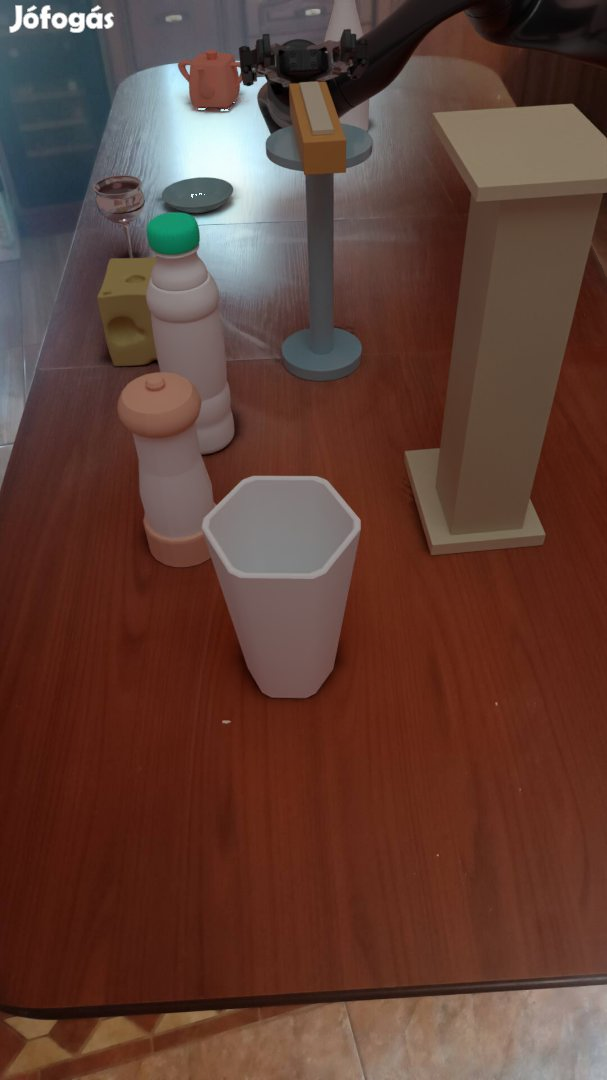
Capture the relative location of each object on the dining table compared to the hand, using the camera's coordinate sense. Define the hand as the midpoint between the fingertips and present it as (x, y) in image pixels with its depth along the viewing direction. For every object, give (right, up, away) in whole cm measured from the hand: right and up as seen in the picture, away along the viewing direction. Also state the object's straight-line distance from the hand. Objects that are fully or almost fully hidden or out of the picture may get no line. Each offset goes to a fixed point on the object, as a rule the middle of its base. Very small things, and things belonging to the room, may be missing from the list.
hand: (307, 42), depth 84 cm
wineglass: (-26, -11, +36) cm, 45 cm away
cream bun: (+1, -11, -2) cm, 11 cm away
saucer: (-18, +4, +50) cm, 53 cm away
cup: (-2, -63, -15) cm, 65 cm away
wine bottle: (+7, +26, +71) cm, 76 cm away
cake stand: (+2, -29, +17) cm, 34 cm away
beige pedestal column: (+17, -48, -2) cm, 51 cm away
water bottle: (-12, -41, +7) cm, 43 cm away
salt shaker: (-12, -52, -4) cm, 54 cm away
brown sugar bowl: (-19, +38, +83) cm, 94 cm away
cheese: (-20, -27, +21) cm, 39 cm away
